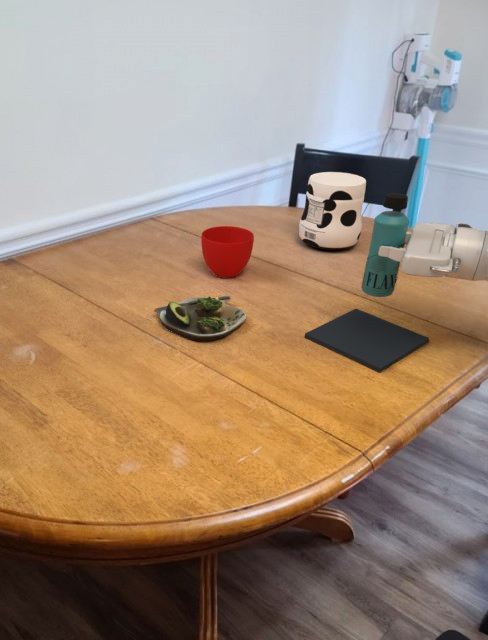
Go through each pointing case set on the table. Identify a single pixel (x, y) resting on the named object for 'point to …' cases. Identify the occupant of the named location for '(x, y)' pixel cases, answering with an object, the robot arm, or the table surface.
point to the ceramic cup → (226, 249)
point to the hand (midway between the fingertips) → (382, 243)
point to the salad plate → (201, 318)
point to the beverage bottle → (389, 232)
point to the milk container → (332, 210)
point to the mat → (367, 339)
